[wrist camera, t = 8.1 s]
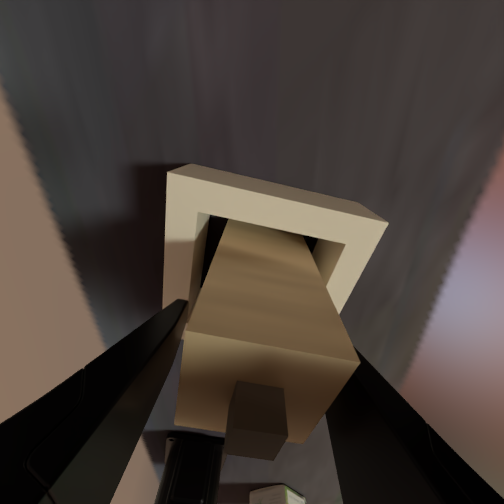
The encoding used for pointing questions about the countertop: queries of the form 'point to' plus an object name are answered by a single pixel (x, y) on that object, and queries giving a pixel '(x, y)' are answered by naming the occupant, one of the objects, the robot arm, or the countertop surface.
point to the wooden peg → (262, 344)
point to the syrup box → (276, 496)
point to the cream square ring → (265, 214)
